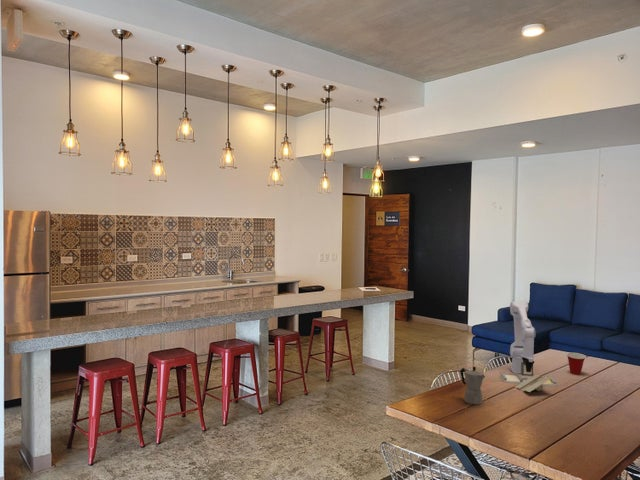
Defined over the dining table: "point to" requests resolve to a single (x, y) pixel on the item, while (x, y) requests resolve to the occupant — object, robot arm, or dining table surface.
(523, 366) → the picture frame
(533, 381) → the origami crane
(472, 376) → the coffeepot
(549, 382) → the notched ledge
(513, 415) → the dining table surface
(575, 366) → the plastic cup
